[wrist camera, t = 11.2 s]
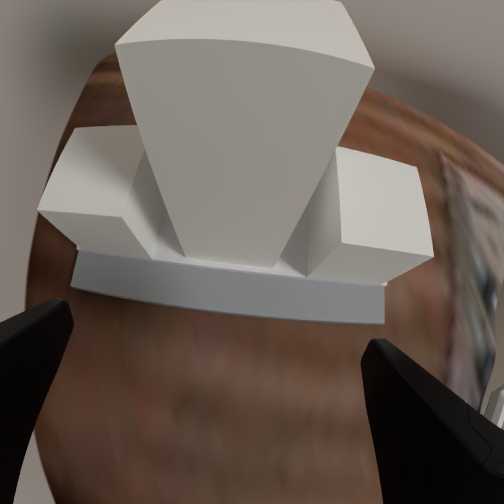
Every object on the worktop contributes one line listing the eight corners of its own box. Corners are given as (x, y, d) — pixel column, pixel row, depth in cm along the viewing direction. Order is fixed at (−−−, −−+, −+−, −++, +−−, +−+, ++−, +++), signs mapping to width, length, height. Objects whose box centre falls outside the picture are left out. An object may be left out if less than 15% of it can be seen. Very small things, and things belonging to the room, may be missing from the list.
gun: (476, 544, 6) (421, 556, 7) (457, 536, 9) (401, 542, 10) (545, 387, 13) (512, 361, 14) (523, 390, 16) (486, 366, 17)
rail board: (378, 325, 17) (444, 307, 10) (76, 288, 16) (15, 255, 10) (371, 192, 20) (414, 138, 14) (114, 162, 19) (86, 100, 13)
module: (273, 268, 16) (375, 68, 4) (186, 258, 16) (114, 44, 4) (277, 198, 18) (340, 1, 6) (200, 189, 18) (181, -16, 5)
